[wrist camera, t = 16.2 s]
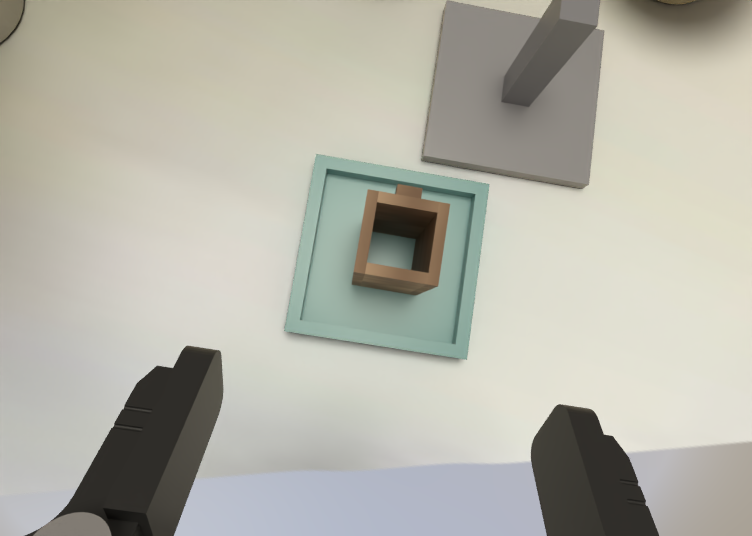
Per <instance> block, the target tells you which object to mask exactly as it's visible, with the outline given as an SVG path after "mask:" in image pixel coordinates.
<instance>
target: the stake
mask: <svg viewBox="0 0 752 536" xmlns="http://www.w3.org/2000/svg"><path fill="white" fill-rule="evenodd" d="M599 5H600V0H553V1H552V2H551V4H550V5H549V7H548V8H547V10H546V12H545V13H544V15H543V16H542V18H536V17H531V16H526V15H520V14H515V13H510V12H505V11H499V10H494V9H489V8H484V7H479V6H473V5H468V4H463V3H458V2H453V1H446V4H445V8H444V12H443V19H442V25H441V32H440V39H439V45H438V52H437V59H436V66H435V72H434V79H433V86H432V92H431V99H430V106H429V112H428V119H427V126H426V132H425V139H424V146H423V152H422V159H421V161H427V162H432V163H438V164H444V165H450V166H455V167H461V168H467V169H472V170H478V171H484V172H489V173H495V174H501V175H507V176H512V177H518V178H524V179H529V180H535V181H541V182H546V183H552V184H558V185H564V186H569V187H575V188H581V189H582V188H584V187H585V186H587V185H589V178H590V168H591V158H592V148H593V138H594V128H595V118H596V108H597V98H598V88H599V78H600V68H601V58H602V48H603V38H604V30H599V29H595V28H596V27H597V24H598V15H599Z"/></svg>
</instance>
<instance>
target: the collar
mask: <svg viewBox="0 0 752 536" xmlns="http://www.w3.org/2000/svg"><path fill="white" fill-rule="evenodd" d="M422 190H423V188H418V187H413V186H407V185H402V184H397V187H396V191H395V194H392V193H387V192H381V191H376V190H370V189H368V190H367V196H366V202H365V208H364V214H363V220H362V225H361V231H360V237H359V243H358V249H357V255H356V260H355V266H354V272H353V278H352V284H351V285H357V286H363V287H368V288H374V289H380V290H386V291H392V292H398V293H404V294H410V295H418V294H421V293H423V292H426V291H428V290H430V289H433V288H435V287H438V284H439V277H440V271H441V264H442V257H443V250H444V243H445V237H446V230H447V223H448V216H449V209H450V204H448V203H443V202H437V201H431V200H426V199H421V196H422ZM372 232H378V233H383V234H389V235H395V236H401V237H406V238H412V239H416V241H415V248H414V254H413V261H412V267H411V270H408V269H402V268H396V267H391V266H385V265H379V264H373V263H367V259H368V253H369V247H370V241H371V235H372Z"/></svg>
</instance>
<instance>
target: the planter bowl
mask: <svg viewBox="0 0 752 536" xmlns="http://www.w3.org/2000/svg"><path fill="white" fill-rule="evenodd" d="M657 1H660V2H663V3H668V4H686V3H690V2H693V1H696V0H657Z"/></svg>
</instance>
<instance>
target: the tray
mask: <svg viewBox="0 0 752 536" xmlns="http://www.w3.org/2000/svg"><path fill="white" fill-rule="evenodd" d="M397 184H402V185H407V186H413V187H418V188H423V190H422V196H421V199H426V200H431V201H437V202H443V203H448V204H450V209H449V216H448V223H447V230H446V237H445V243H444V250H443V257H442V264H441V271H440V277H439V284H438V287H435V288H433V289H430V290H428V291H426V292H423V293H421V294H418V295H410V294H404V293H398V292H392V291H386V290H380V289H374V288H368V287H363V286H357V285H351V284H352V278H353V272H354V266H355V260H356V255H357V249H358V243H359V237H360V231H361V225H362V220H363V214H364V208H365V202H366V196H367V190H368V189H370V190H376V191H381V192H387V193H392V194H395V191H396V187H397ZM488 191H489V184H486V183H480V182H474V181H468V180H463V179H457V178H451V177H445V176H440V175H434V174H428V173H422V172H417V171H411V170H405V169H399V168H394V167H388V166H382V165H376V164H371V163H365V162H359V161H354V160H348V159H342V158H336V157H331V156H325V155H319V154H316V158H315V163H314V169H313V174H312V180H311V185H310V191H309V197H308V202H307V208H306V213H305V219H304V224H303V230H302V235H301V241H300V246H299V252H298V258H297V263H296V269H295V274H294V280H293V285H292V291H291V296H290V302H289V307H288V313H287V319H286V324H285V330H284V331H286V332H293V333H299V334H306V335H312V336H319V337H325V338H331V339H338V340H344V341H351V342H357V343H363V344H370V345H376V346H383V347H389V348H395V349H402V350H408V351H415V352H421V353H427V354H434V355H440V356H447V357H453V358H459V359H466V360H467V354H468V346H469V338H470V331H471V323H472V315H473V307H474V300H475V292H476V284H477V276H478V269H479V261H480V253H481V245H482V238H483V230H484V222H485V214H486V207H487V199H488ZM415 241H416V239H412V238H406V237H401V236H395V235H389V234H383V233H378V232H372V235H371V241H370V247H369V253H368V259H367V263H373V264H379V265H385V266H391V267H396V268H402V269H408V270H411V267H412V261H413V254H414V248H415Z"/></svg>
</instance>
